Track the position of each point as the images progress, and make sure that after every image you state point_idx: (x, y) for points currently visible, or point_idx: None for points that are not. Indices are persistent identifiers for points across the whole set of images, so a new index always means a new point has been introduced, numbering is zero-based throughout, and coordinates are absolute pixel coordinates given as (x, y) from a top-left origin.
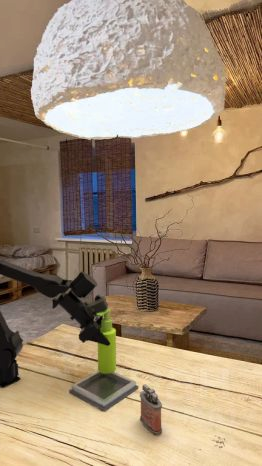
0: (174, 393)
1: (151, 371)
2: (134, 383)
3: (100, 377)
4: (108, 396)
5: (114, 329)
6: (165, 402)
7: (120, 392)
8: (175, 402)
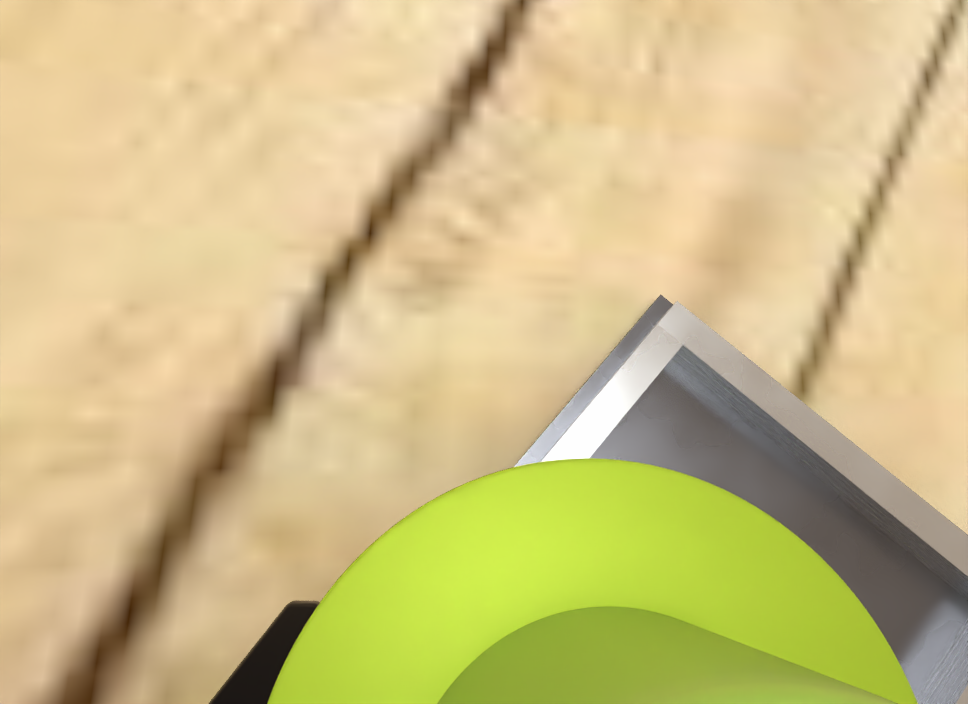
0: (716, 36)
1: (362, 170)
2: (691, 318)
3: None
4: (848, 572)
5: (534, 506)
6: (839, 112)
7: (860, 453)
8: (833, 46)
